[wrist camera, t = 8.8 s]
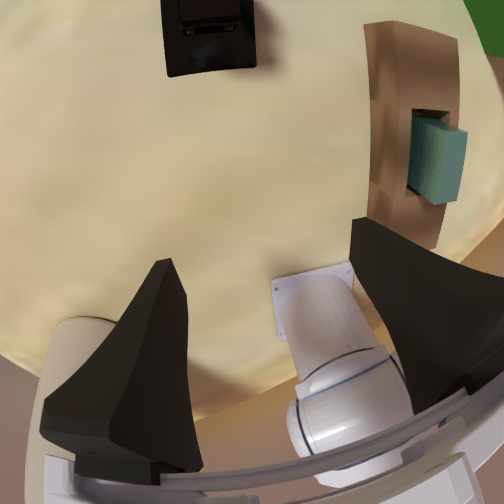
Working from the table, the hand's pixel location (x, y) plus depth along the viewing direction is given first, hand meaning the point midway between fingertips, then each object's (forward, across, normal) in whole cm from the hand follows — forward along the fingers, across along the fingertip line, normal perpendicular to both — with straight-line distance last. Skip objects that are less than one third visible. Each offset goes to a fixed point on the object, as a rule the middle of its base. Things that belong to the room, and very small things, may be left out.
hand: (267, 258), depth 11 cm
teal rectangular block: (+10, -13, -1) cm, 16 cm away
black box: (+10, 0, -12) cm, 16 cm away
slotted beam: (+9, -13, -1) cm, 16 cm away
